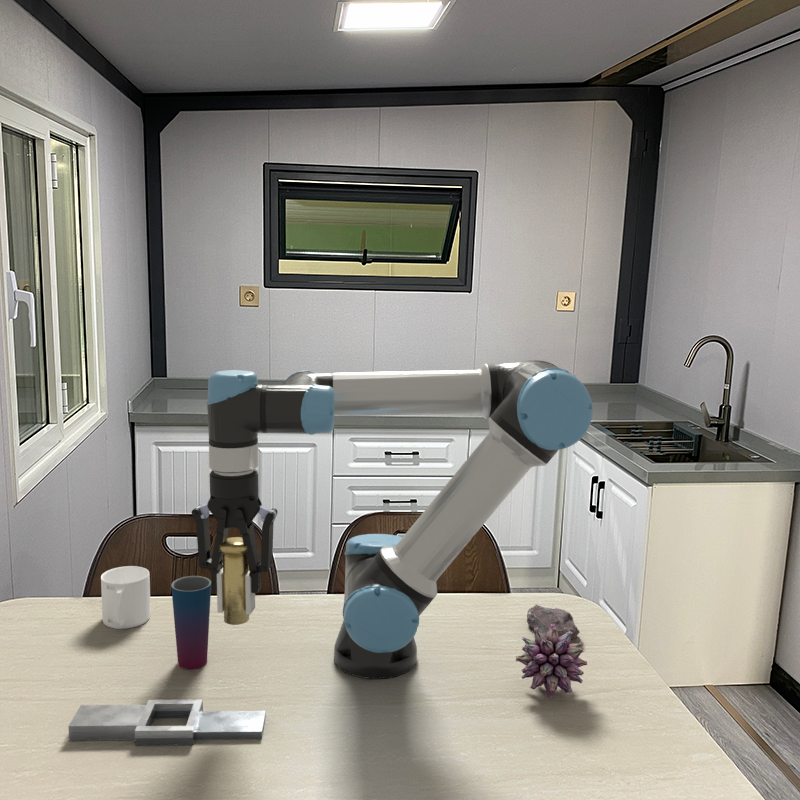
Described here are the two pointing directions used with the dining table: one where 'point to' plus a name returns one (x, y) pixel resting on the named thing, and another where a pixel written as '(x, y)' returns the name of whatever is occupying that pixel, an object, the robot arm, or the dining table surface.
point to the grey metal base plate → (139, 720)
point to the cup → (191, 620)
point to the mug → (125, 597)
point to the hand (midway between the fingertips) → (236, 609)
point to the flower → (552, 661)
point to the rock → (551, 620)
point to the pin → (234, 580)
